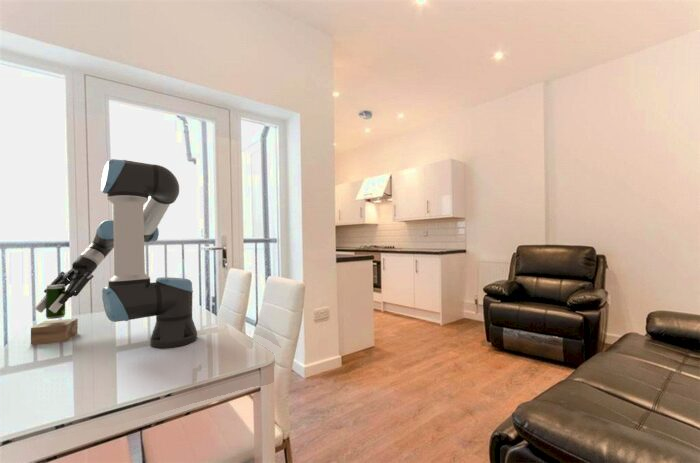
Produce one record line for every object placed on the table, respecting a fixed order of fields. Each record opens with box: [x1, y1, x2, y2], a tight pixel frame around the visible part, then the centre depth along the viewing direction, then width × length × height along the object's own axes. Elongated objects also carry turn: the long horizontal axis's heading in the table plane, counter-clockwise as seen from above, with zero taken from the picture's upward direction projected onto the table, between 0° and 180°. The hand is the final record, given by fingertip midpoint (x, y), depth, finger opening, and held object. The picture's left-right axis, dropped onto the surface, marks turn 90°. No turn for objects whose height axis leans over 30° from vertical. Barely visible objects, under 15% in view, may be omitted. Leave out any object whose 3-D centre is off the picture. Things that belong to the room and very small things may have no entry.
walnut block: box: [30, 318, 79, 346], centre depth 121 cm, size 10×10×6 cm
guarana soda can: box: [45, 284, 67, 320], centre depth 121 cm, size 5×5×12 cm
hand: (45, 310), depth 117 cm, fingers closed on guarana soda can, 5 cm apart
